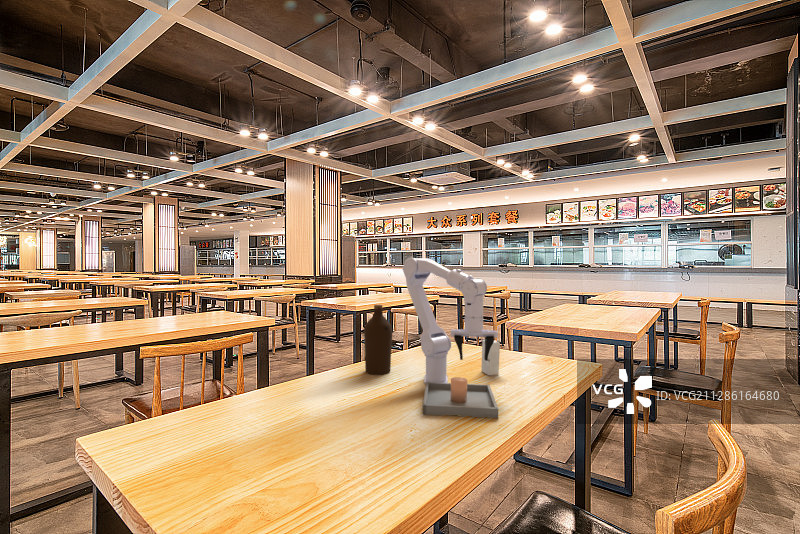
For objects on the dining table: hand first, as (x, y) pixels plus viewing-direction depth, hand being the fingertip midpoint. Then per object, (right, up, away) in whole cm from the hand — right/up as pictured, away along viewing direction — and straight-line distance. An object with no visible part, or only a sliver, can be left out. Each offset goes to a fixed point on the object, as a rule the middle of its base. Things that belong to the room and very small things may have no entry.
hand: (473, 359), depth 123 cm
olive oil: (-32, -10, +23) cm, 40 cm away
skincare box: (+10, -10, +21) cm, 26 cm away
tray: (-6, -11, -9) cm, 15 cm away
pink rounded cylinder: (-6, -10, -9) cm, 15 cm away
